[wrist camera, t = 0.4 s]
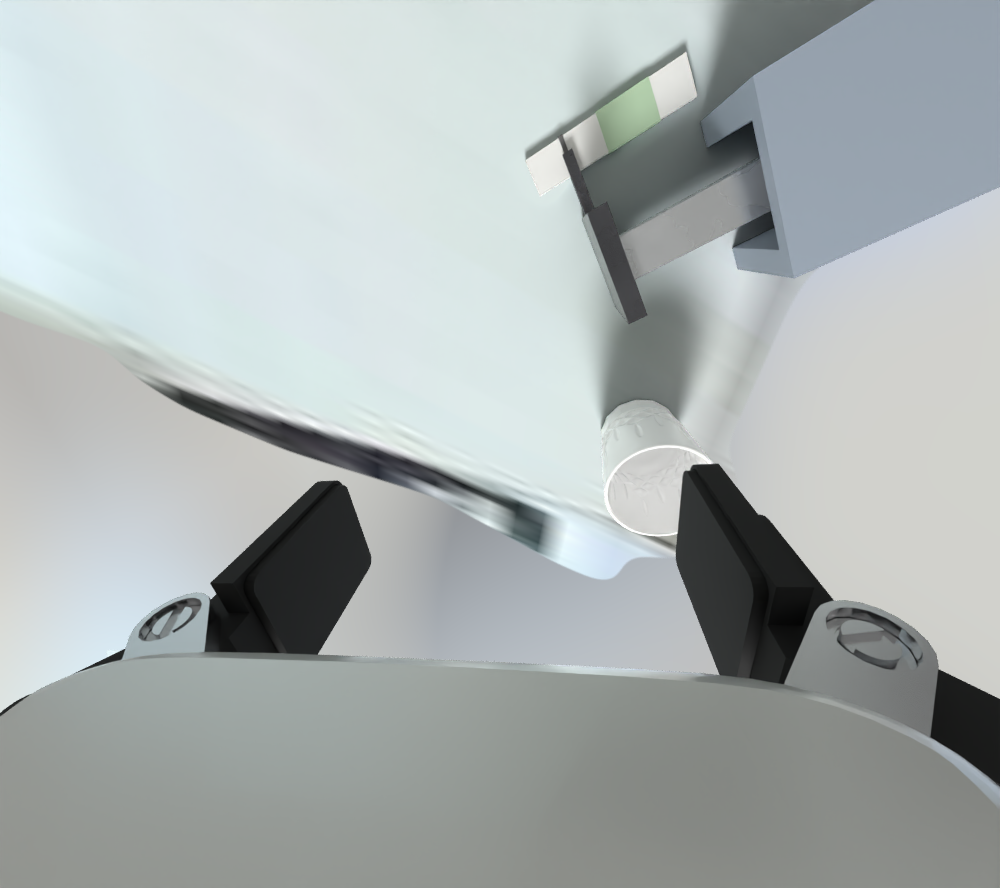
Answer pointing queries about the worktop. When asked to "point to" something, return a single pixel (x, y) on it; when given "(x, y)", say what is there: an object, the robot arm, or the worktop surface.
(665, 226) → the plunger
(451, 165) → the worktop surface
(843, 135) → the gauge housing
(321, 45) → the worktop surface
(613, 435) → the white cup
